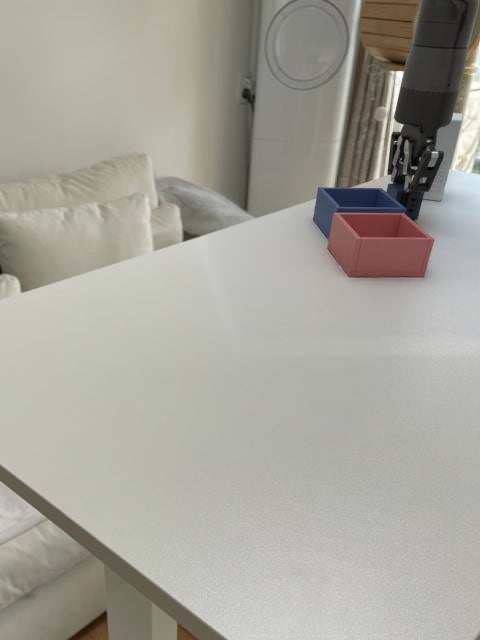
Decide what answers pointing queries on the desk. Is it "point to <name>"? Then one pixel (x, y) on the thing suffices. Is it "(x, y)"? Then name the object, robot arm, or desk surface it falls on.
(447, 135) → the cosmetic box
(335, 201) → the blue bin
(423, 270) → the rose bin
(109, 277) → the desk surface
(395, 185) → the navy block
